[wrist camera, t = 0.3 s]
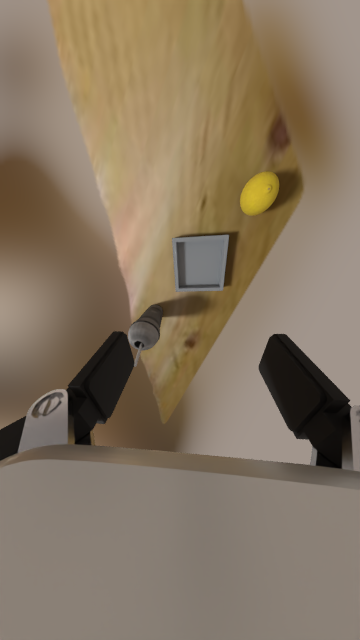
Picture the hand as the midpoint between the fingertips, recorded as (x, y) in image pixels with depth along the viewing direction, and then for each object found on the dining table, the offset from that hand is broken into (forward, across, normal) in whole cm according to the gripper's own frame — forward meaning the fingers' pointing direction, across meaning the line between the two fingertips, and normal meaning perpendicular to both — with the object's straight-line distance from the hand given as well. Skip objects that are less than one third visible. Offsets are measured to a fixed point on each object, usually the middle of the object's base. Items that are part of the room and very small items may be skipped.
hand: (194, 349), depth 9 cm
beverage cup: (+30, +11, +12) cm, 34 cm away
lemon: (+30, -11, -12) cm, 34 cm away
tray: (+30, -2, -1) cm, 30 cm away
